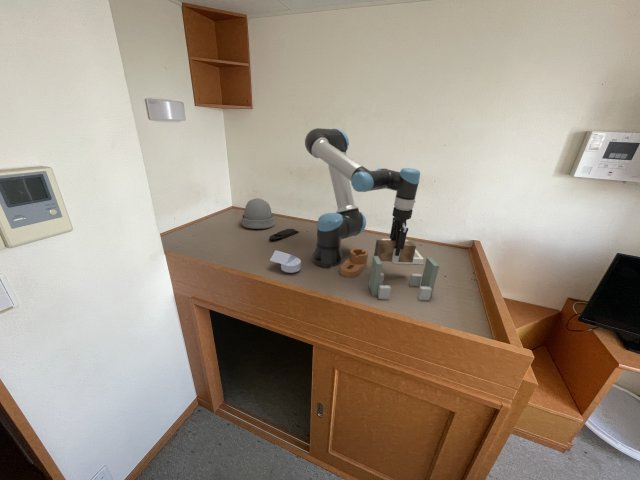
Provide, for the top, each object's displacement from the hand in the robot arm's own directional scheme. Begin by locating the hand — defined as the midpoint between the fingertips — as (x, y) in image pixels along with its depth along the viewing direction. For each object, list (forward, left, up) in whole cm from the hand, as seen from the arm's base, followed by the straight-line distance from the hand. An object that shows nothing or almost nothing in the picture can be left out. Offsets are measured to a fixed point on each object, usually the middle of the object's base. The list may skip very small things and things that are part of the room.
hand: (393, 258), depth 119 cm
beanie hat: (-71, +57, -11) cm, 91 cm away
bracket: (-16, +6, -9) cm, 19 cm away
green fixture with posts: (0, -13, -9) cm, 15 cm away
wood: (-56, +45, -10) cm, 72 cm away
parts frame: (+12, +24, -9) cm, 29 cm away
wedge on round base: (-53, +9, -5) cm, 54 cm away
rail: (0, 0, 0) cm, 0 cm away
